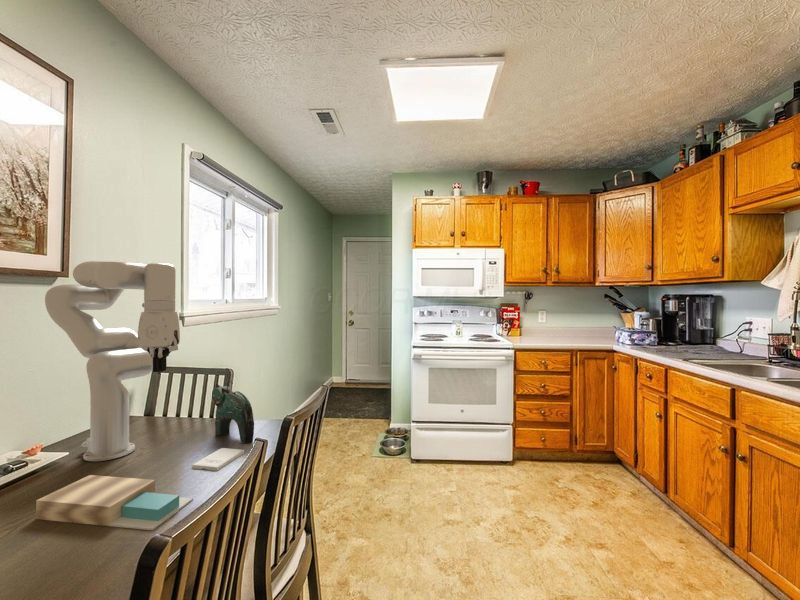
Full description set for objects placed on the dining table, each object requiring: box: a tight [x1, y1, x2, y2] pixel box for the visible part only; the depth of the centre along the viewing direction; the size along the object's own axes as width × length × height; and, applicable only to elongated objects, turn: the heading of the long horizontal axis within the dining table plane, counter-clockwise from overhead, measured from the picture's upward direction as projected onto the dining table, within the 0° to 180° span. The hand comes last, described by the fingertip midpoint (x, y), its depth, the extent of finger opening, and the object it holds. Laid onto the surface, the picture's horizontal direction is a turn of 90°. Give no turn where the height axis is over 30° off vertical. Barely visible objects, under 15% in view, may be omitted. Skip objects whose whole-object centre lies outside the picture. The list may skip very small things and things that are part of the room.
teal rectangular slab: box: [121, 492, 180, 521], centre depth 83 cm, size 9×6×2 cm, turn 81°
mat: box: [109, 496, 194, 531], centre depth 83 cm, size 10×12×1 cm
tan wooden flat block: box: [35, 474, 156, 527], centre depth 85 cm, size 18×12×4 cm, turn 82°
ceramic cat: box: [211, 379, 255, 446], centre depth 129 cm, size 20×6×20 cm, turn 55°
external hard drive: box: [191, 447, 245, 472], centre depth 111 cm, size 2×8×12 cm
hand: (159, 371), depth 107 cm, fingers closed
